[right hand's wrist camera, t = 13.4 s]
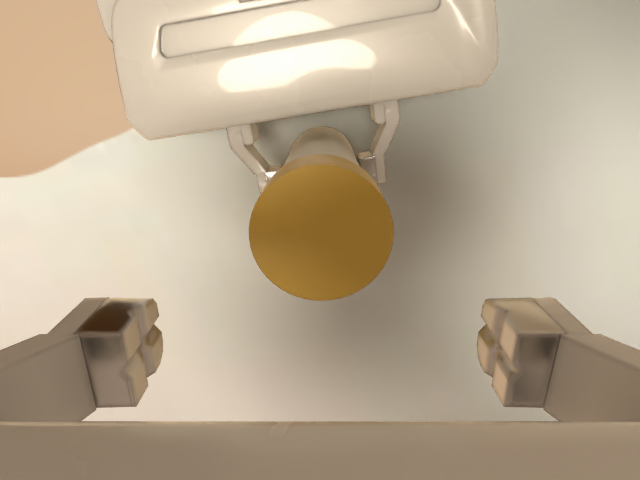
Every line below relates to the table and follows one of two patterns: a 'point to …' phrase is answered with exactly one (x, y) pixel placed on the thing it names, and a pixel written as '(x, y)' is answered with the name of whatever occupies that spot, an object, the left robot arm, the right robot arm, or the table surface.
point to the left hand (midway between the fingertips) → (324, 189)
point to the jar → (321, 144)
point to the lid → (321, 228)
